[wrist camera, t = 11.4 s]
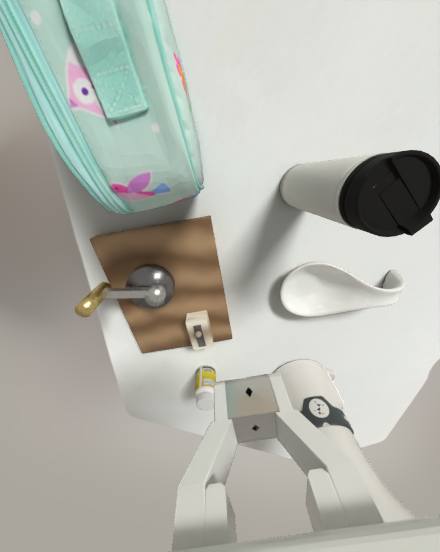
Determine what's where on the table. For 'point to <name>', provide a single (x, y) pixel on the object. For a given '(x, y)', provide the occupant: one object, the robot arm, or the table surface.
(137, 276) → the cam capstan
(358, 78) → the table surface
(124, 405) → the table surface
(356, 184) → the travel mug
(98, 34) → the lunch box
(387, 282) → the spoon rest
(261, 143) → the table surface
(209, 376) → the supplement bottle
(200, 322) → the stand
